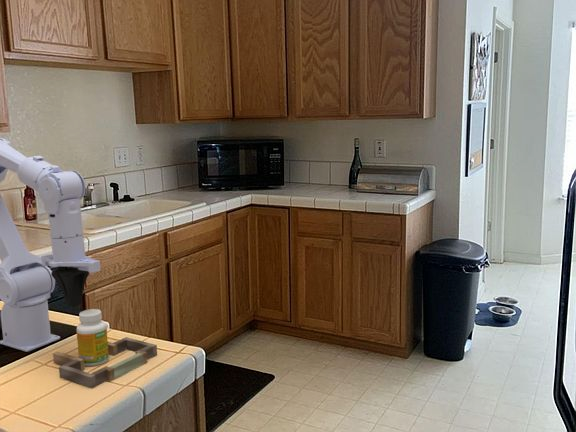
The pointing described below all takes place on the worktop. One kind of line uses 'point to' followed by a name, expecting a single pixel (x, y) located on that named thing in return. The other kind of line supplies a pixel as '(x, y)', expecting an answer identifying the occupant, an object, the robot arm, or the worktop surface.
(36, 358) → the worktop surface
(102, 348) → the supplement bottle
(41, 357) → the worktop surface
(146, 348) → the grey flat frame
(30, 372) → the worktop surface
